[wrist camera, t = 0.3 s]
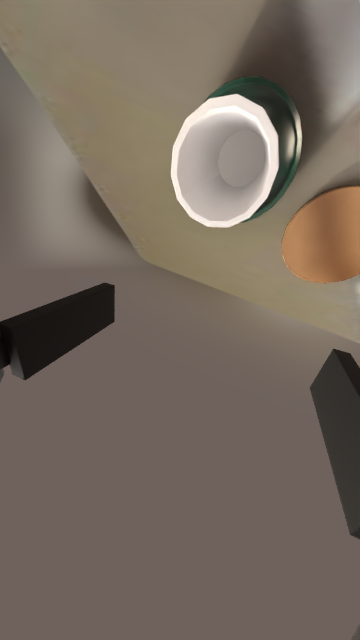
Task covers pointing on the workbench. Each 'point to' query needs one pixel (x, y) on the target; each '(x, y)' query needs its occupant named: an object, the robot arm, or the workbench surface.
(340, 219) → the pot holder
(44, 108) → the workbench surface
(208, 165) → the foam cup
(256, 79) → the pot
